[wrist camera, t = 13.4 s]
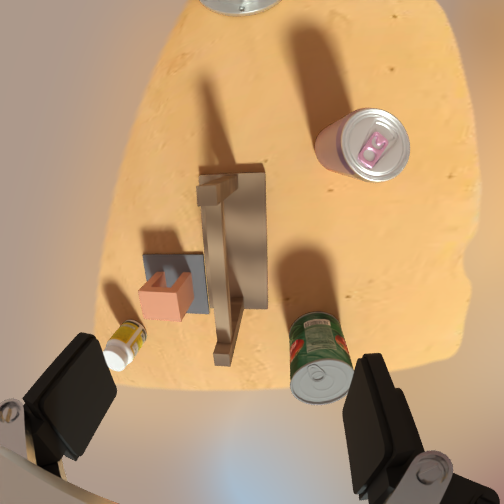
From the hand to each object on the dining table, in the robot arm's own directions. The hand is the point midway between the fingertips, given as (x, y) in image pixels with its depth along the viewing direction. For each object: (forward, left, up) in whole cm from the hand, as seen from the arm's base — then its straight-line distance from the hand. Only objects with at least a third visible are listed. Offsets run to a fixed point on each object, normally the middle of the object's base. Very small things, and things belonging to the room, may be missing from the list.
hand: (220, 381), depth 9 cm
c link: (+10, -13, -28) cm, 33 cm away
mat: (+10, -13, -29) cm, 33 cm away
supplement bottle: (+19, -22, -29) cm, 41 cm away
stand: (+4, -4, -29) cm, 29 cm away
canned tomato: (+18, +7, -29) cm, 35 cm away
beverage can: (-8, +9, -29) cm, 31 cm away
